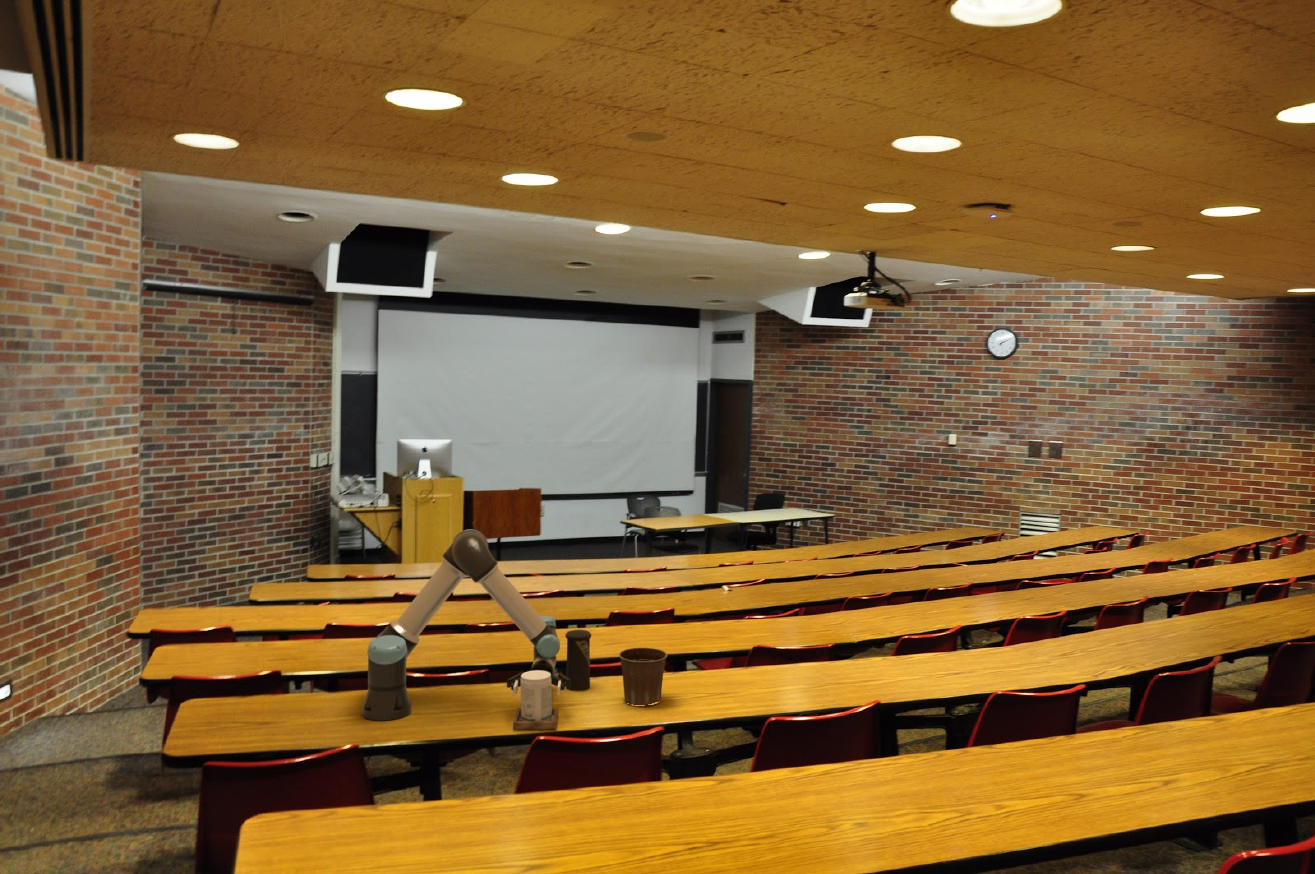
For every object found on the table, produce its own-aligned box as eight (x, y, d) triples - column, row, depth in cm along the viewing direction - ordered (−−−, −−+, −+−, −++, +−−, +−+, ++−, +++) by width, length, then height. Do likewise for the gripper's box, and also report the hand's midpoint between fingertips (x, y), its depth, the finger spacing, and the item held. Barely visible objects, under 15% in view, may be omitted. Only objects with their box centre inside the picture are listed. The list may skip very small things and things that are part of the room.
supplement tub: (547, 714, 294) (548, 668, 294) (554, 724, 285) (555, 677, 285) (517, 717, 291) (517, 671, 290) (523, 728, 282) (524, 680, 281)
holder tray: (513, 730, 281) (513, 722, 281) (517, 716, 294) (517, 708, 294) (556, 730, 282) (556, 722, 282) (558, 715, 295) (558, 708, 295)
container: (586, 692, 319) (587, 635, 318) (561, 690, 321) (562, 633, 320) (593, 685, 327) (594, 629, 326) (569, 683, 329) (569, 627, 328)
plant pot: (657, 712, 300) (658, 663, 299) (611, 706, 305) (611, 658, 304) (672, 697, 315) (673, 650, 315) (628, 691, 320) (628, 645, 320)
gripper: (579, 682, 309) (576, 703, 288) (504, 682, 308) (496, 703, 287) (579, 659, 309) (577, 679, 288) (504, 659, 308) (496, 679, 287)
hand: (536, 691), depth 287 cm, fingers open, 13 cm apart
